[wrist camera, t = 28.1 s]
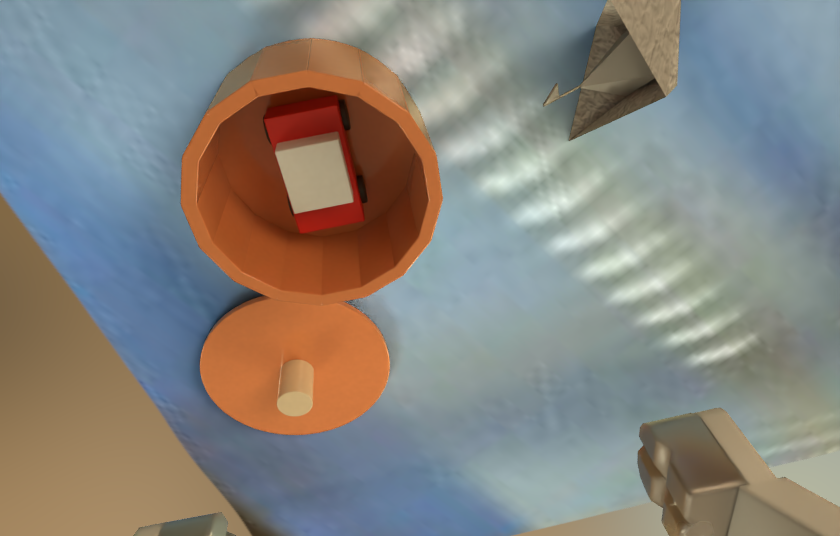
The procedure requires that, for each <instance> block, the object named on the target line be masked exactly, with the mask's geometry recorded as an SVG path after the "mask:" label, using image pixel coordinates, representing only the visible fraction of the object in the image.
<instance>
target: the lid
mask: <svg viewBox="0 0 840 536" xmlns="http://www.w3.org/2000/svg"><path fill="white" fill-rule="evenodd" d="M389 371H390V358H389V352H388V347H387V344H386V342H385V339H384V337H383V335H382V334H381V332H380V330H379V329H378V328H377V326H376V325H375V324H374V323H373V322H372V321H371V320H370V319H369V318H368V317H367V316H366V315H365V314H364V313H362V312H361V311H359V310H358V309H357V308H355V307H353V306H351V305H350V304H348V303H346V302H339V303H334V304H329V305H324V306H323V305H321V306H320V305H311V304H302V303H294V302H285V301H277V300H274V299H271V298H269V297H267V296H265V295H264V296H261V297H257V298H254V299H252V300H249V301H247V302H245V303H243V304H241V305H239V306H237V307H235V308H234V309H232V310H231V311H229V312H228V313H227V314H225V315H224V316H223V317H222V318H221V319H220V320H219V321H218V322H217V323H216V324H215V325H214V327H213V328H212V329H211V330H210V332H209V334H208V336H207V338H206V339H205V342H204V345H203V348H202V351H201V357H200V373H201V378H202V382H203V384H204V387H205V389H206V391H207V393H208V394H209V396H210V397H211V399H212V400H213V401H214V402H215V403H216V405H217V406H218V407H219V408H220V409H222V410H223V411H224V412H225V413H226V414H228V415H229V416H231V417H232V418H233V419H235V420H237V421H239V422H241V423H243V424H245V425H247V426H250V427H252V428H255V429H258V430H262V431H265V432H270V433H275V434H285V435H304V434H314V433H320V432H324V431H328V430H332V429H335V428H337V427H340V426H343V425H345V424H347V423H349V422H351V421H353V420H354V419H356V418H358V417H359V416H361V415H362V414H363V413H365V412H366V411H367V410H368V409H369V408H370V407H371V406H372V405H373V404H374V403H375V402H376V401H377V399H378V398H379V397H380V395H381V394H382V392H383V390H384V388H385V386H386V383H387V380H388V377H389Z"/></svg>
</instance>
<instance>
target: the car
mask: <svg viewBox="0 0 840 536" xmlns="http://www.w3.org/2000/svg"><path fill="white" fill-rule="evenodd" d="M263 124H264V129H265V133H266V136H267V139H268V141H269V143H270V144H271V145H272V148H273V151H274V154H275V157H276V160H277V163H278V166H279V170H280V173H281V176H282V179H283V182H284V185H285V189H286V192H287V200H288V205H289V208H290V211H291V214H292V215H293V217H295V220H296V223H297V226H298V230H299V233H300V234H303V233H308V232H313V231H318V230H323V229H328V228H333V227H338V226H343V225H348V224H353V223H358V222H363V221H365V216H364V206H363V203H367V202H368V199H367V193H366V188H365V183H364V179H363V176H362V175H358V176H356V172H355V168H354V164H353V160H352V155H351V151H350V147H349V143H348V139H347V134H346V130H350V129H351V125H350V119H349V114H348V110H347V106H346V102H345V100H344V99H342V100H338V97H337V95H332V96H327V97H322V98H317V99H312V100H307V101H302V102H296V103H291V104H286V105H281V106H276V107H271V108H267V110H266V114H265V115H264V116H263Z"/></svg>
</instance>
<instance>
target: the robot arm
mask: <svg viewBox="0 0 840 536" xmlns="http://www.w3.org/2000/svg"><path fill="white" fill-rule="evenodd" d="M639 437H640V439H641V441H642V443H643V446H642V448H641V449H640V450H639V451H638V468H639V473H640V477H641V480H642V482H643V485H644V488H645V490H646V492H647V494H648V496H649V498H650V500H651V501H653V502H654V503H656V504H657V505H659V506H660V507H662V508H663V514H662V523H663V525H664V527H665V529H666V531H667V533H668V535H669V536H840V507H838V506H836V505H835V504H833V503H831V502H829V501H827V500H826V499H824V498H822V497H820V496H818V495H816V494H815V493H813V492H811V491H809V490H807V489H805V488H804V487H802V486H800V485H798V484H796V483H795V482H793V481H791V480H789V479H787V478H786V477H782V478H776V477H775V475H774V474H773V473H772V471H771V470H770V469H769V467H768V466H767V465H766V463H765V462H764V461H763V459H762V458H761V457H760V455H759V454H758V453H757V452H756V450H755V449H754V448H753V446H752V445H751V444H750V442H749V441H748V440H747V438H746V437H745V436H744V434H743V433H742V432H741V430H740V429H739V428H738V426H737V425H736V424H735V422H734V421H733V420H732V418H731V417H730V416H729V415H728V413H727V412H726V411H725V410H723V409H722V408H714V409H710V410H705V411H701V412H696V413H688V414H683V415H679V416H674V417H670V418H666V419H661V420H657V421H652V422H648V423H643V424H642V425H641V427H640V432H639ZM227 525H228V521H227V520H226V518H225V517H224V515H223V514H222V512H219V513H214V514H208V515H204V516H198V517H193V518H187V519H182V520H177V521H171V522H165V523H160V524H155V525H150V526H145V527H140V528H139V529H138V530H137V531H136V533H135V534H134V536H236V535H234V534H232V533H229V532H227Z"/></svg>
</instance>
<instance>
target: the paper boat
mask: <svg viewBox="0 0 840 536" xmlns="http://www.w3.org/2000/svg"><path fill="white" fill-rule="evenodd" d="M680 10H681V0H607V2H606V5H605V7H604V9H603V12H602V14H601V16H600V19H599V21H598V23H597V26H596V30H595V34H594V38H593V42H592V46H591V51H590V55H589V59H588V63H587V67H586V71H585V75H584V80H583V82H582V84H581V85H579V86H577V87H576V88H574V89H572V90H570V91H568V92H566V93H564V94H562V95H560V96H559V91H558V84H557V83H556V84H555V86H554V87H553V89H552V91H551V92H550V94H549V95H548V97H547V99H546V100H545V102H544V104H543V106H546V105H548V104H550V103H552V102H554V101H556V100H558V99H559V98H561V97H563V96H565V95H567V94H569V93H571V92H573V91H575V90H576V89H578V88H581V92H580V96H579V100H578V104H577V109H576V113H575V117H574V121H573V125H572V129H571V133H570V137H569V141H571V140H573V139H575V138H577V137H579V136H582V135H584V134H586V133H588V132H590V131H592V130H595V129H597V128H599V127H601V126H603V125H606V124H608V123H610V122H612V121H614V120H616V119H619V118H621V117H623V116H625V115H627V114H630V113H632V112H634V111H636V110H638V109H641V108H643V107H645V106H647V105H649V104H651V103H654V102H656V101H658V100H660V99H662V98H665V97H666V96H667V95H668V94H669V93H670V92H671V91H672V90H673V89H674V88H675V87H676V86H677V75H678V53H679V31H680Z"/></svg>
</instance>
